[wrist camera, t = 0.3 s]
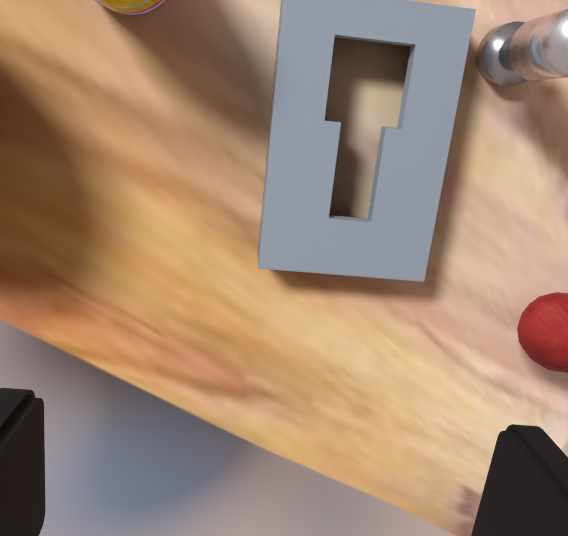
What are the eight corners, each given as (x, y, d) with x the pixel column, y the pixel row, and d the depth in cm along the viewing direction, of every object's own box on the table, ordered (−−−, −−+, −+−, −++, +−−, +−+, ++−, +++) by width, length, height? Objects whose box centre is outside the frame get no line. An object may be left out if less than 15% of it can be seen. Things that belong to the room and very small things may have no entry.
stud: (483, 21, 37) (564, -8, 27) (538, 28, 37) (637, 2, 28) (471, 82, 38) (545, 75, 28) (525, 88, 38) (615, 83, 29)
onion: (582, 317, 44) (652, 362, 36) (523, 358, 45) (579, 411, 37) (547, 265, 42) (613, 301, 35) (487, 309, 43) (538, 353, 35)
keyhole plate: (281, -5, 35) (284, -15, 32) (455, 17, 36) (475, 9, 33) (257, 255, 41) (258, 268, 37) (410, 267, 42) (424, 281, 38)
